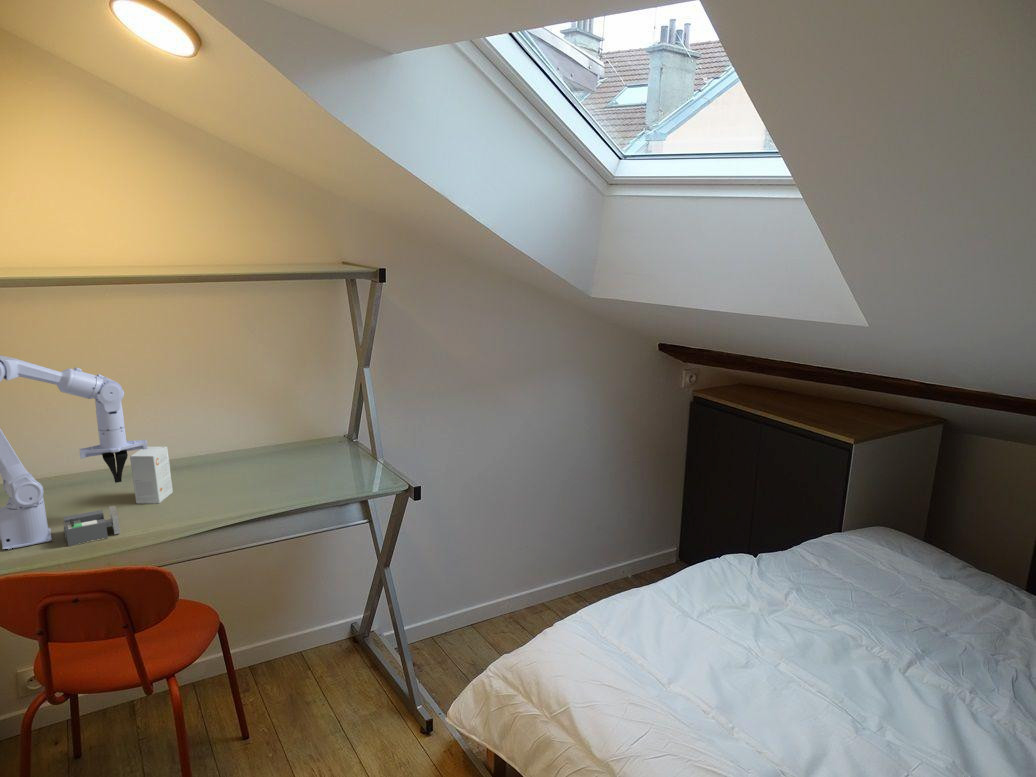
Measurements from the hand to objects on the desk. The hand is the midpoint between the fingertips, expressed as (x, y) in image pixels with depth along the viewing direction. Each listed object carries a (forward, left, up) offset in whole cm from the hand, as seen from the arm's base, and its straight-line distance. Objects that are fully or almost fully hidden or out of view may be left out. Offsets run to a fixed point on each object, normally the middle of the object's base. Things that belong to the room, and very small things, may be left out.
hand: (118, 481), depth 190 cm
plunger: (-7, -8, -9) cm, 14 cm away
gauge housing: (-8, -8, -9) cm, 15 cm away
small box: (+9, +9, -10) cm, 16 cm away
